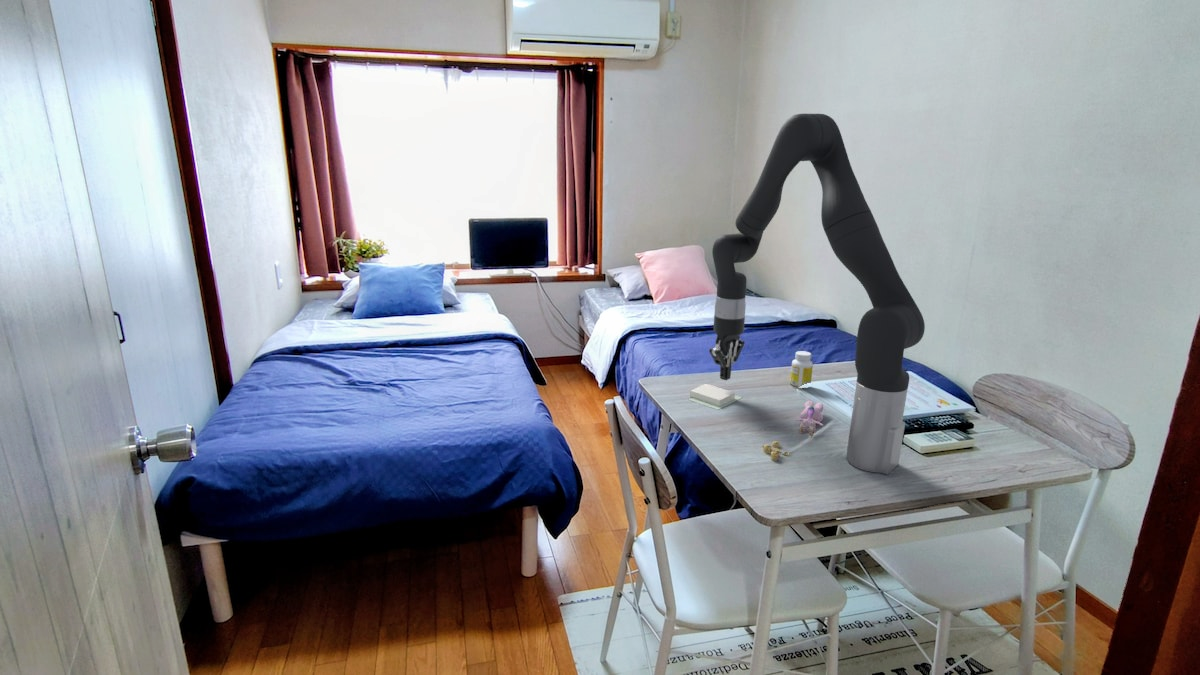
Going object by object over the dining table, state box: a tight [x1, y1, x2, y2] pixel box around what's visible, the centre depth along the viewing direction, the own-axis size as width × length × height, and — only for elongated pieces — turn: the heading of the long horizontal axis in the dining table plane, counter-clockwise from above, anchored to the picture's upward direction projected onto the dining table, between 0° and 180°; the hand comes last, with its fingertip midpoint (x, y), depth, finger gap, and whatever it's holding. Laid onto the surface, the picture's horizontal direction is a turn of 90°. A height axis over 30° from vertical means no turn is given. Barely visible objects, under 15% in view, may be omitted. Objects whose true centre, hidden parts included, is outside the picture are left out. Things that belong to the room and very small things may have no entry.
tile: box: [689, 383, 736, 406], centre depth 154 cm, size 7×2×9 cm
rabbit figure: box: [794, 400, 824, 439], centre depth 140 cm, size 6×6×15 cm
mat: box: [688, 394, 743, 411], centre depth 153 cm, size 18×16×1 cm
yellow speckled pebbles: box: [763, 440, 790, 462], centre depth 127 cm, size 5×5×2 cm
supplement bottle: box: [789, 350, 814, 390], centre depth 162 cm, size 5×5×10 cm
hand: (725, 378), depth 155 cm, fingers closed
